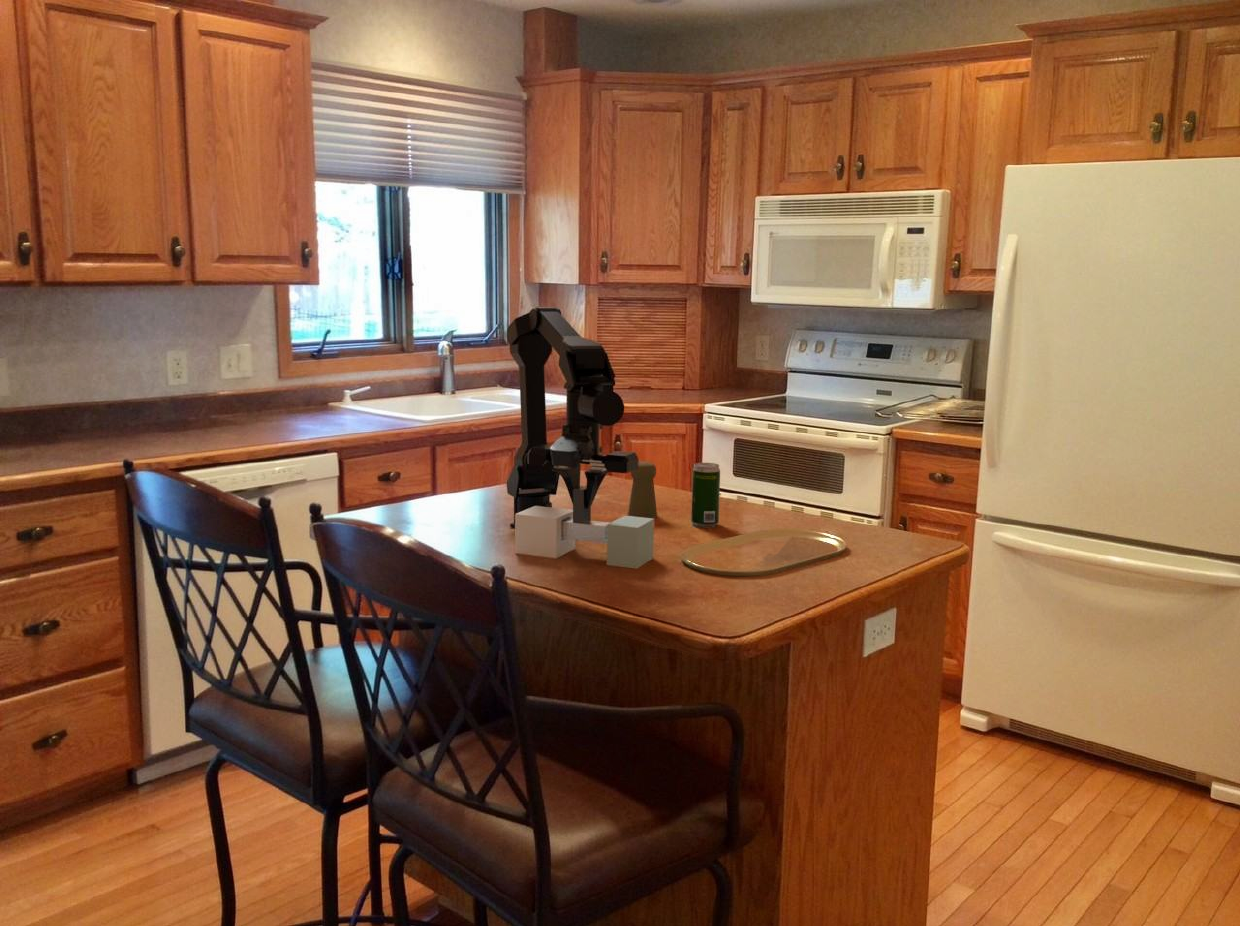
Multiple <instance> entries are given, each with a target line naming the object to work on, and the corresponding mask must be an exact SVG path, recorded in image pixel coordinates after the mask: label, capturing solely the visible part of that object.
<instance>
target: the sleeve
mask: <svg viewBox="0 0 1240 926" xmlns="http://www.w3.org/2000/svg"><path fill="white" fill-rule="evenodd" d="M566 518H572V519H573V509H569V508H559V507H552V508H551V507H542V506H533V507H531V508H529V509H526V510H524V511H521V512H519V513H516V514H515V527H514V553H515V554H518V555H520V554H521V555H527V556H535V557H542V558H544V557H545V558H551V559H558V558H560V557H561V556H563V555H566V554H567V553H569V552H571V551H573V550H575V549H576V540H570V539H562V538H561V523H562V520H563V519H566Z"/></svg>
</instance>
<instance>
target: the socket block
mask: <svg viewBox="0 0 1240 926" xmlns="http://www.w3.org/2000/svg"><path fill="white" fill-rule="evenodd" d="M608 523H609V524H607V543H606V565H607V566H613V567H620V568H630V569H639V568H640V567H643V565H645V564H646V563H648V562H649V561H651V560H653V559H654V551H655V550H654V547H655V546H654V545H655V543H654V540H655V518H643V517H634V516H628V515H623V516H621V517H619V518H617V519H615V520H613V521H611V522H608Z"/></svg>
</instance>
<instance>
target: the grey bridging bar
mask: <svg viewBox="0 0 1240 926" xmlns="http://www.w3.org/2000/svg"><path fill="white" fill-rule="evenodd" d="M586 486H587V485H580V486H579V487H576V488H574V489H573V504H572V510H573V519H572V518H566V519H563V520H562V523H561V538H562V539H570V540H575V541H581V542H586V543H587V542H589V543H597V544H607V524H609V523H610V522H606V521H597V520H591V519H592V517H591V516H592V515H591V514H592V511H591V510H592V506H591V507H590V508H589V509H587V508H586Z"/></svg>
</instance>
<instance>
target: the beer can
mask: <svg viewBox="0 0 1240 926" xmlns="http://www.w3.org/2000/svg"><path fill="white" fill-rule="evenodd" d="M691 482H692V483H691V486H692V487H691V488H692V489H691V518H690V520H691V523H692V525H693V526H694V527H697V528H706V529H707V528H708V529H709V528H715V527H717V526H718V524H719V519H720V518H719V516H720V492H721V491H720V490H721V489H720V487H721V486H720V484H721V469H720V464H718V463H714V462H696V463H694V464H693V468H692V480H691Z"/></svg>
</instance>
